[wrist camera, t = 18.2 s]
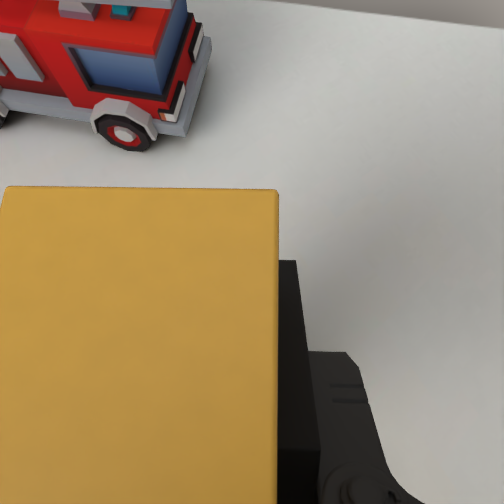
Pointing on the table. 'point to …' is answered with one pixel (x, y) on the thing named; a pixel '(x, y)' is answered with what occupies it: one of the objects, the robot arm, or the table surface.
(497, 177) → the table surface
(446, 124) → the table surface
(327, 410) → the robot arm
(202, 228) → the block
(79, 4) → the toy fire truck
